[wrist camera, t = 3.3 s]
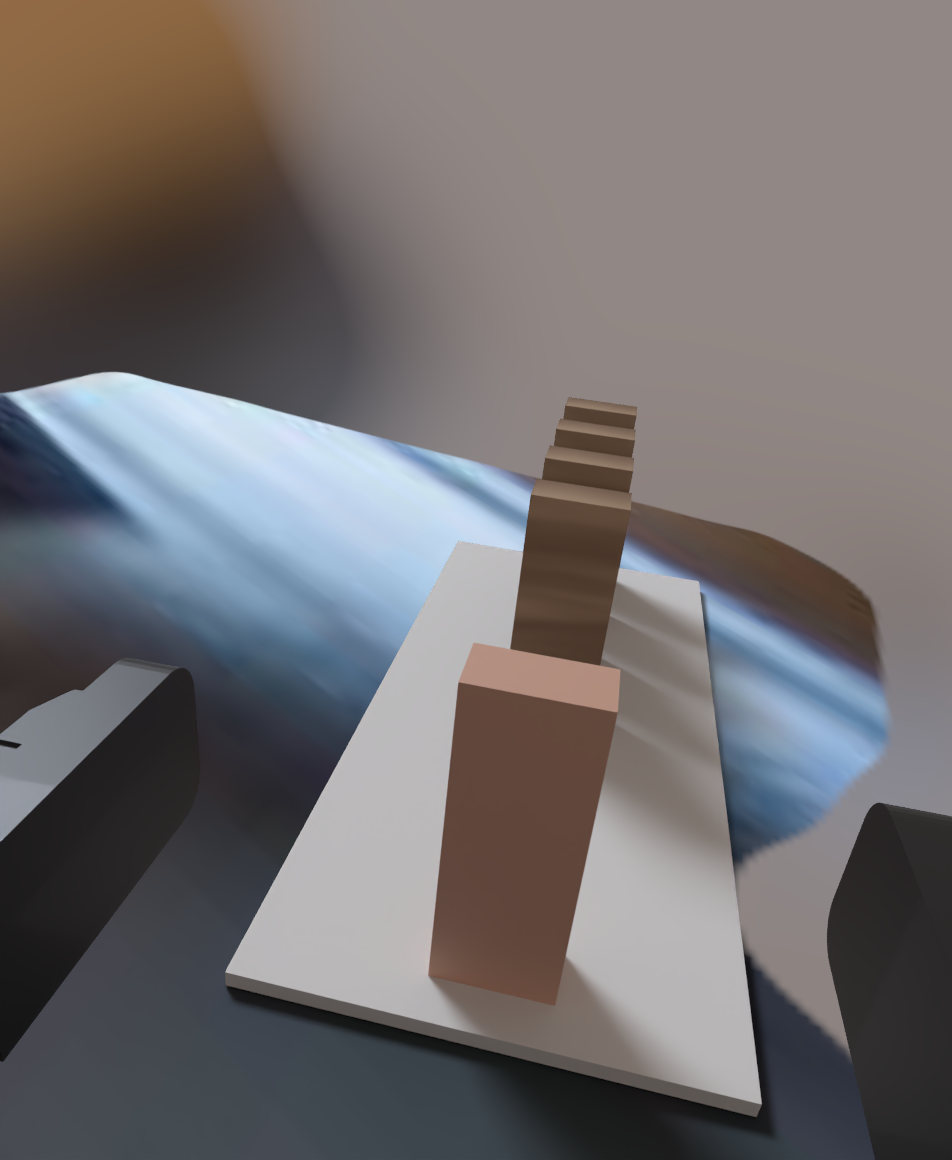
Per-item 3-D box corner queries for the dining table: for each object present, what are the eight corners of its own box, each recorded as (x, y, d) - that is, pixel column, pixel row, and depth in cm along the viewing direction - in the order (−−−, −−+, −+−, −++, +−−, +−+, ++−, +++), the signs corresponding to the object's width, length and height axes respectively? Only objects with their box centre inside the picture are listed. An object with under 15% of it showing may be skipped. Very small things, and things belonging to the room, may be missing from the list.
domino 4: (586, 733, 37) (630, 510, 32) (500, 716, 38) (530, 494, 33) (589, 708, 39) (631, 493, 34) (507, 692, 40) (537, 478, 35)
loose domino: (554, 1005, 25) (617, 712, 20) (428, 975, 25) (458, 682, 20) (561, 951, 27) (620, 669, 22) (442, 923, 27) (473, 642, 22)
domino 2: (599, 628, 46) (634, 440, 41) (529, 615, 47) (556, 428, 42) (601, 611, 48) (635, 429, 43) (533, 599, 48) (560, 418, 43)
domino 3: (593, 675, 42) (633, 471, 37) (516, 660, 42) (544, 457, 37) (595, 655, 43) (633, 457, 38) (522, 641, 44) (550, 445, 39)
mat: (756, 1117, 23) (761, 1104, 23) (225, 985, 25) (225, 972, 25) (696, 589, 53) (698, 581, 53) (457, 549, 55) (458, 541, 55)
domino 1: (603, 589, 50) (636, 415, 46) (540, 578, 51) (565, 405, 46) (605, 575, 52) (636, 406, 47) (543, 565, 53) (568, 397, 48)
